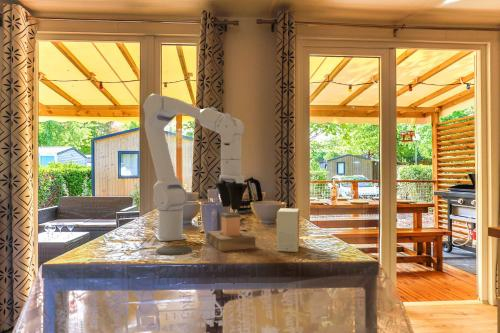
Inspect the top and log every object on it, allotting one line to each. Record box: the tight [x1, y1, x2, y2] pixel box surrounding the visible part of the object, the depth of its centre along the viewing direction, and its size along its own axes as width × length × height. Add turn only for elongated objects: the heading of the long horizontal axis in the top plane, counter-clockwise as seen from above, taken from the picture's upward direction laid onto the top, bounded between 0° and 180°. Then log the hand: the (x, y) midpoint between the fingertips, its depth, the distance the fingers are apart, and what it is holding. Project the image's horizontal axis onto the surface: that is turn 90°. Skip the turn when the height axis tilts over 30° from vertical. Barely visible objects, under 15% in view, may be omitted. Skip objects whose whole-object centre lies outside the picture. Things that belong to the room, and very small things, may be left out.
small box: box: [276, 207, 300, 253], centre depth 91 cm, size 8×6×10 cm
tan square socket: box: [206, 229, 256, 252], centre depth 95 cm, size 12×10×3 cm
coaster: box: [155, 244, 192, 256], centre depth 87 cm, size 9×9×1 cm
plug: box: [220, 212, 241, 236], centre depth 95 cm, size 4×4×9 cm
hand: (230, 208), depth 95 cm, fingers open, 7 cm apart
